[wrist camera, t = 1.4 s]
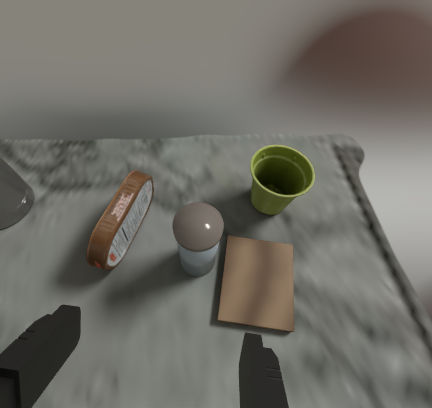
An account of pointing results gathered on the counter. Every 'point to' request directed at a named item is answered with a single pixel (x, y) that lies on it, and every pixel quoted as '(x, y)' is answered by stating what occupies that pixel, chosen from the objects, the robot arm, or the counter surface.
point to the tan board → (257, 284)
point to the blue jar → (198, 237)
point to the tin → (120, 221)
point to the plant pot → (279, 177)
